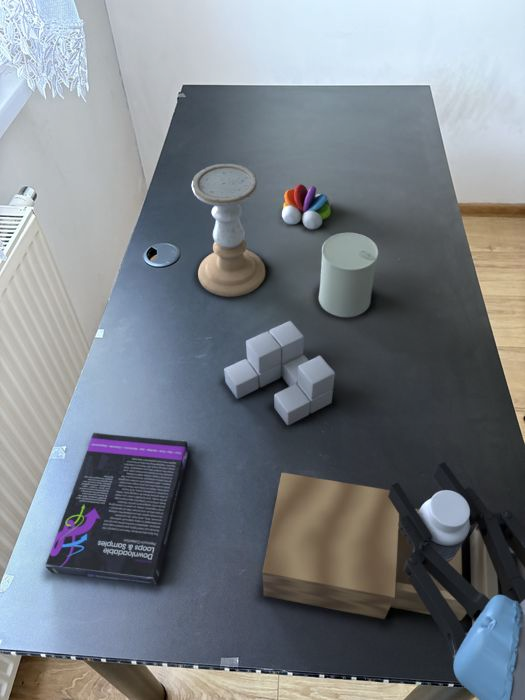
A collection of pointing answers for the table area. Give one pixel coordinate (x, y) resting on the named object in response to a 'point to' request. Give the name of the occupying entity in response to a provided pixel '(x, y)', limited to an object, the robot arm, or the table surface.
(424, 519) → the pill bottle
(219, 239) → the candle holder
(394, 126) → the table surface
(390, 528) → the cabinet
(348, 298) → the can
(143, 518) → the box
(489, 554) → the robot arm
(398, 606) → the drawer
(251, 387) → the grey cube puzzle piece
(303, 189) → the rainbow petal toy
